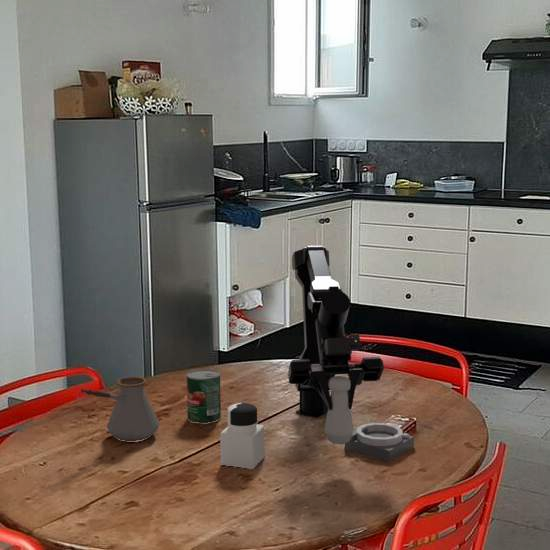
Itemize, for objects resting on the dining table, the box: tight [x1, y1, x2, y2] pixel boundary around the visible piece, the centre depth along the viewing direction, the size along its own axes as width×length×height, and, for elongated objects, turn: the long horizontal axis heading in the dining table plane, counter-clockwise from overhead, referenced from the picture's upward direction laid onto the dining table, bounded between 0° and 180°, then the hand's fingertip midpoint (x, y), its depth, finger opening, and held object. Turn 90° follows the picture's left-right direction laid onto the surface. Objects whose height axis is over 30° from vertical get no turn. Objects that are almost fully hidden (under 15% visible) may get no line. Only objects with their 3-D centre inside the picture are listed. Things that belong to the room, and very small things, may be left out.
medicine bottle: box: [219, 402, 266, 470], centre depth 175 cm, size 7×7×12 cm
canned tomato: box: [186, 368, 222, 423], centre depth 200 cm, size 8×8×11 cm
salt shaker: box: [324, 375, 355, 445], centre depth 169 cm, size 6×6×13 cm
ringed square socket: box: [344, 420, 415, 463], centre depth 182 cm, size 11×10×4 cm
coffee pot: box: [76, 376, 160, 441], centre depth 185 cm, size 21×12×15 cm, turn 147°
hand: (340, 408), depth 168 cm, fingers closed on salt shaker, 4 cm apart
